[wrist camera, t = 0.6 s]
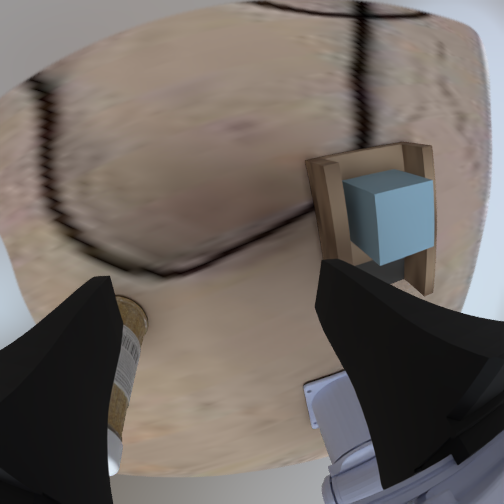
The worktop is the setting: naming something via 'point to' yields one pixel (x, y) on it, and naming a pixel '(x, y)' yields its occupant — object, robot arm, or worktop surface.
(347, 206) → the blue block
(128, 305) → the sprinkles bottle
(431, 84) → the worktop surface
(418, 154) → the walnut channel
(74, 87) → the worktop surface
